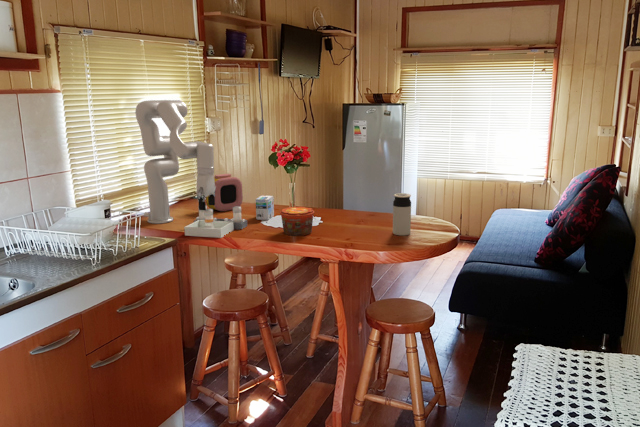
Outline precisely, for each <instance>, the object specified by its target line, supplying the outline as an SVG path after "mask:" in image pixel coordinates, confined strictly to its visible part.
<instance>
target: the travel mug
mask: <svg viewBox="0 0 640 427" xmlns="http://www.w3.org/2000/svg"><path fill="white" fill-rule="evenodd" d="M393 196H394V199H393V201H392V202H393V203H392V206H393V207H392V208H393V209H392V233H393V234H394V235H396V236H408V235H410V234H411V228H412V227H411V220H412V219H411V218H412V201H411V196H412V195H411V194H410V193H401V192H400V193H395V194H393Z"/></svg>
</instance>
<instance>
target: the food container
mask: <svg viewBox="0 0 640 427" xmlns="http://www.w3.org/2000/svg"><path fill="white" fill-rule="evenodd" d="M314 214H315V210H313V208H312V207H305V206H290V207H285V208H282V209H281V210H280V212H279V215H281V222H282V223H281V224H282V228H283V234H284V235H286V236H291V237H300V236H301V237H303V236H307V235H310V234H311V233H312V232H313V231H312V230H313V219H314Z"/></svg>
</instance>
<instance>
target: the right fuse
mask: <svg viewBox="0 0 640 427" xmlns="http://www.w3.org/2000/svg"><path fill="white" fill-rule="evenodd" d="M232 213H233V214H232V215H233V216H232V217H233V220H234V223H241V220H242V219H243V218H242V206H235V207H233V210H232Z"/></svg>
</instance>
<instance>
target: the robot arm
mask: <svg viewBox="0 0 640 427" xmlns="http://www.w3.org/2000/svg"><path fill="white" fill-rule="evenodd" d="M134 114H135V118H136V122H137V125H138V126H139V128H140V135H141V140H142V146H143V151H144V153H145V155H146V156H148V157H158V158H153V159H149V160H147V161H146V162H144V163H145V164H144V166H143V170H144V175H145V178H146V183H147V192H148V194H147V195H148V204H149V212H147V211H145V212H144V214H143V217H147V218H148V219H147V223H149V224H154V225H155V224H156V225H157V224H166V223H171V222H173V221H174V217H173V216H171V214H170V204H169V202H170V201H169V200H170V199H169V188H168V184H167V183H166V180H165V179H164V178H166V177H173V176H175V175H177V174H178V173H179V170H180V163H179V159H181V160H190V159H196V167H197V168H196V170H197V171H196V172H197V177H196V199H197V202H198V206H199V209H198V211H199V210H206V205H207V204H206V197H207V196H210V197H208V205H215V192H216V191H215V189H216V186H215V181H214V177H215V156H214V155H215V153H214V152H215V151H214V150H215V149H214V145H213V144H212V143H209V142H203V141H199V140H196V141H187V142H185V141H184V142H183V140H182V139H181V138H180V135H181V134H182V133H184V132H185V130H186V129H187V127H188V124H187V121H186V120H185V118H186V116H187V115H188V106H187V104H186V103H185V102H184V101H182V100H180V99H179V100H178V99H176V100H175V99H174V100H173V99H172V100H171V99H168V100H167V99H164V100H155V99H154V100H153V99H151V100H143V101H141V102H139V103H138V104H137V105H136V108H135V113H134ZM153 119H161V120H162V121H163V123H164V124H165V126H166V127H167V129H168V130H169V136H168V135H160V130H159V127H158V125H157V123H156V122H155V121H154V120H153ZM159 156H163V157H161V158H160V157H159ZM178 158H179V159H178Z"/></svg>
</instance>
